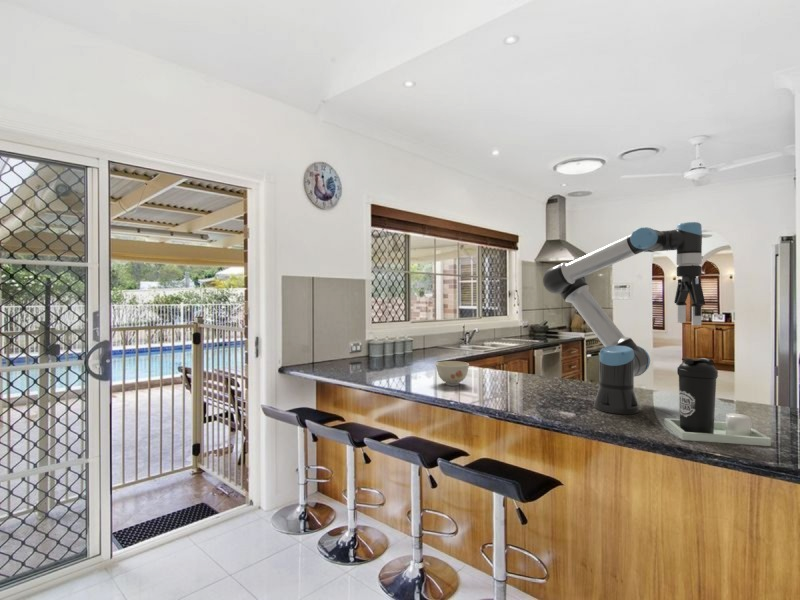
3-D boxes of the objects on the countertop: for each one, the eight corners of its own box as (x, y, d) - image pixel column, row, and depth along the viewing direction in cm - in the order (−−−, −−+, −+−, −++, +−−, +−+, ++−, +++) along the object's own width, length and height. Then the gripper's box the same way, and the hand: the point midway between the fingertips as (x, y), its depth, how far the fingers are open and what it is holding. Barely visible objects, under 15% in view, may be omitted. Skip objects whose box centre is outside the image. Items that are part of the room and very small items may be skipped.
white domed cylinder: (731, 438, 126) (732, 418, 126) (721, 432, 132) (722, 412, 132) (755, 440, 124) (755, 419, 124) (744, 433, 130) (744, 414, 130)
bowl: (434, 387, 199) (434, 366, 199) (437, 380, 215) (437, 360, 215) (469, 388, 197) (469, 367, 197) (469, 381, 213) (469, 361, 212)
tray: (682, 443, 125) (682, 432, 125) (664, 427, 140) (664, 418, 140) (770, 449, 120) (770, 438, 120) (742, 432, 134) (742, 422, 134)
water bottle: (669, 428, 135) (669, 356, 135) (699, 427, 136) (699, 355, 136) (693, 439, 125) (694, 361, 125) (725, 438, 126) (726, 360, 126)
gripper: (717, 263, 141) (716, 326, 142) (686, 267, 166) (686, 321, 166) (691, 263, 143) (691, 326, 144) (665, 267, 168) (664, 321, 168)
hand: (688, 323), depth 155 cm, fingers open, 13 cm apart
